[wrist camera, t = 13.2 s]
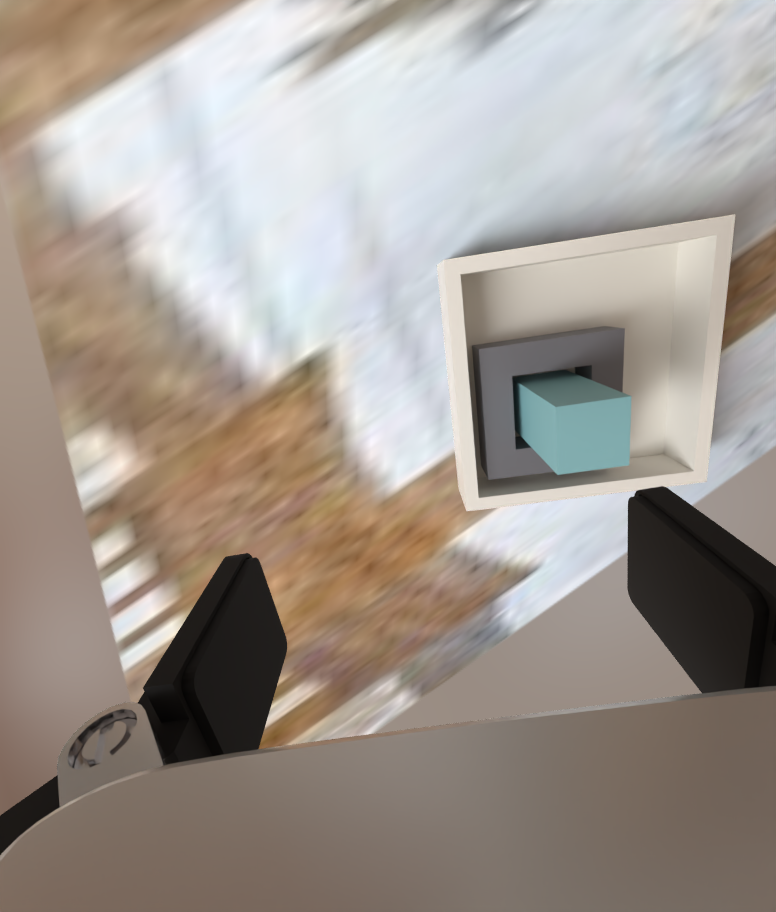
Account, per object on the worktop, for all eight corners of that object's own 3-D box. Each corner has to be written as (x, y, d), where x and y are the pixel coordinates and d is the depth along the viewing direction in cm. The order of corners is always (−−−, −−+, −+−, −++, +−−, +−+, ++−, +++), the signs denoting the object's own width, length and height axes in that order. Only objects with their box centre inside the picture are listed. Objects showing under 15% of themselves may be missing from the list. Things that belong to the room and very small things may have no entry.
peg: (510, 377, 34) (555, 406, 25) (565, 369, 34) (631, 396, 24) (513, 428, 35) (557, 475, 26) (566, 421, 35) (629, 465, 26)
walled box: (436, 265, 32) (443, 260, 28) (688, 226, 31) (735, 214, 27) (458, 487, 38) (466, 511, 34) (670, 461, 37) (706, 481, 33)
